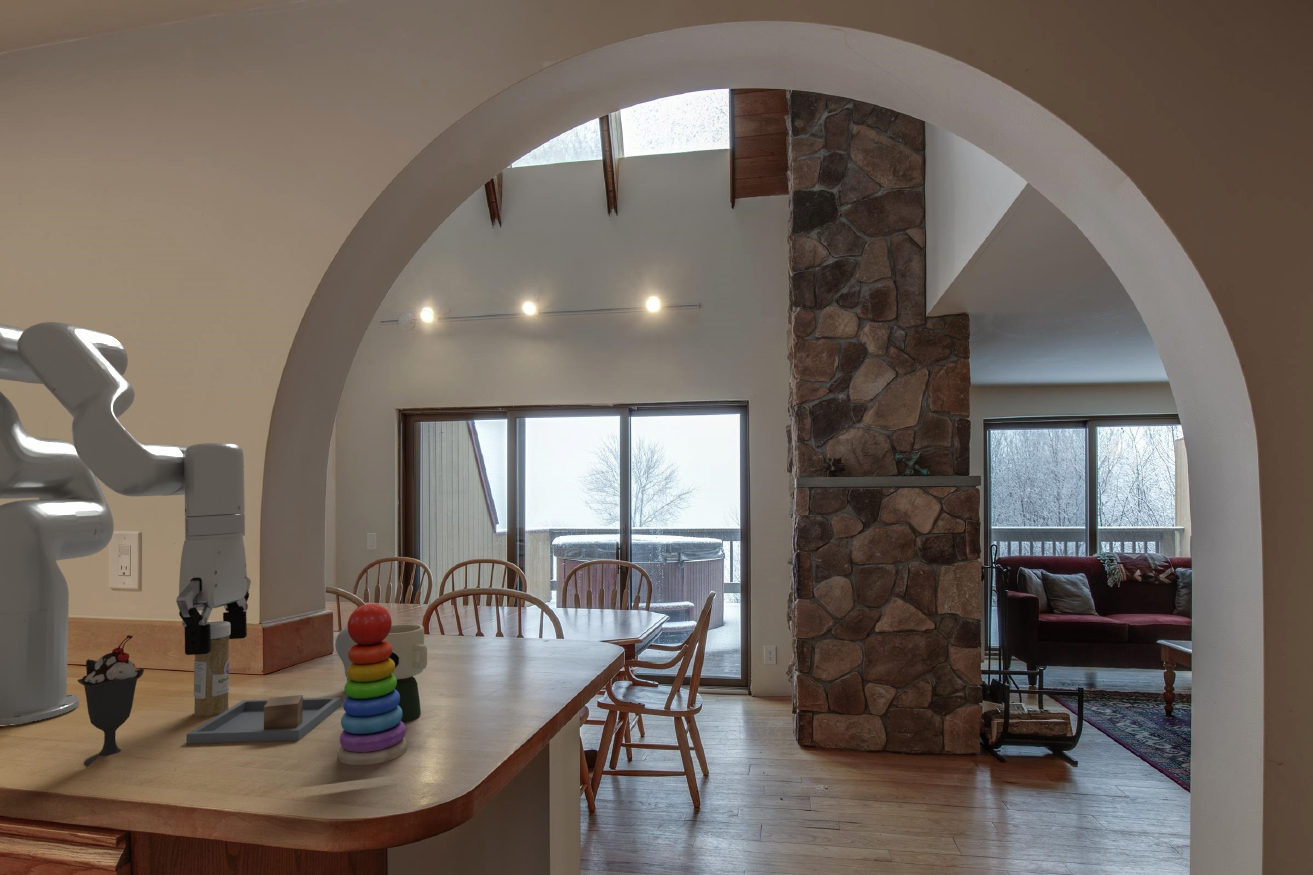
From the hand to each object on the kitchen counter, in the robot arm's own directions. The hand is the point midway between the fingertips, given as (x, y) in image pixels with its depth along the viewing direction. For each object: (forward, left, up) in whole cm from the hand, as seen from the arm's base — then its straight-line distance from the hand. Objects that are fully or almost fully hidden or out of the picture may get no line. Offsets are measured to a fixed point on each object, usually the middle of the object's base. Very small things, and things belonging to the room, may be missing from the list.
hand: (217, 645), depth 106 cm
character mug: (+27, -5, -10) cm, 30 cm away
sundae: (-5, -15, -10) cm, 19 cm away
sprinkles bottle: (-1, 0, -10) cm, 10 cm away
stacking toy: (+28, -18, -10) cm, 35 cm away
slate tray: (+10, -6, -10) cm, 16 cm away
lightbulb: (+16, +10, -10) cm, 22 cm away
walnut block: (+14, -9, -9) cm, 19 cm away
